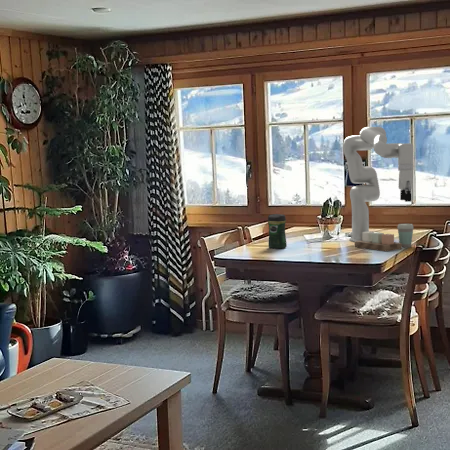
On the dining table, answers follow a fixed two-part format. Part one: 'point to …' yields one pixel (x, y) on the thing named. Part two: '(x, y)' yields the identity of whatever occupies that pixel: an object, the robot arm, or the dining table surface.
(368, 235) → the pale grey block
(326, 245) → the dining table surface
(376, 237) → the key sage
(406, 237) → the coffee cup
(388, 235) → the key terracotta
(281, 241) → the coffee jar
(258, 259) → the dining table surface
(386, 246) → the brown tray
